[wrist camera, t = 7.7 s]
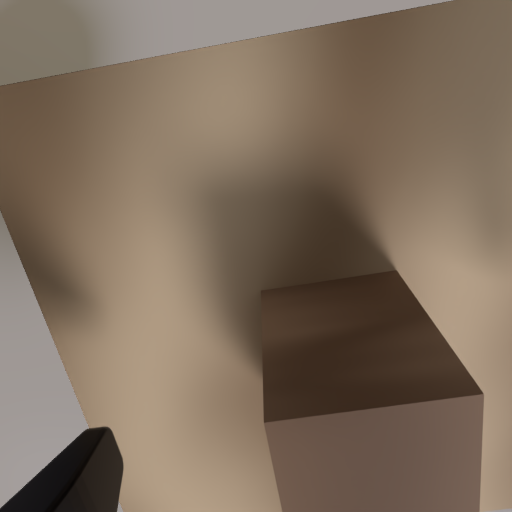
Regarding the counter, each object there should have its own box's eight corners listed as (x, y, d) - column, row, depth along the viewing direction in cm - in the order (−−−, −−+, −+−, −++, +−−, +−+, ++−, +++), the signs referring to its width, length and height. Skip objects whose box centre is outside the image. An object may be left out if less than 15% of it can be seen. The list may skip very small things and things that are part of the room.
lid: (645, -33, 8) (1111, -158, 4) (570, 475, 13) (731, 682, 9) (-22, 92, 9) (-294, 113, 5) (145, 525, 14) (93, 737, 9)
